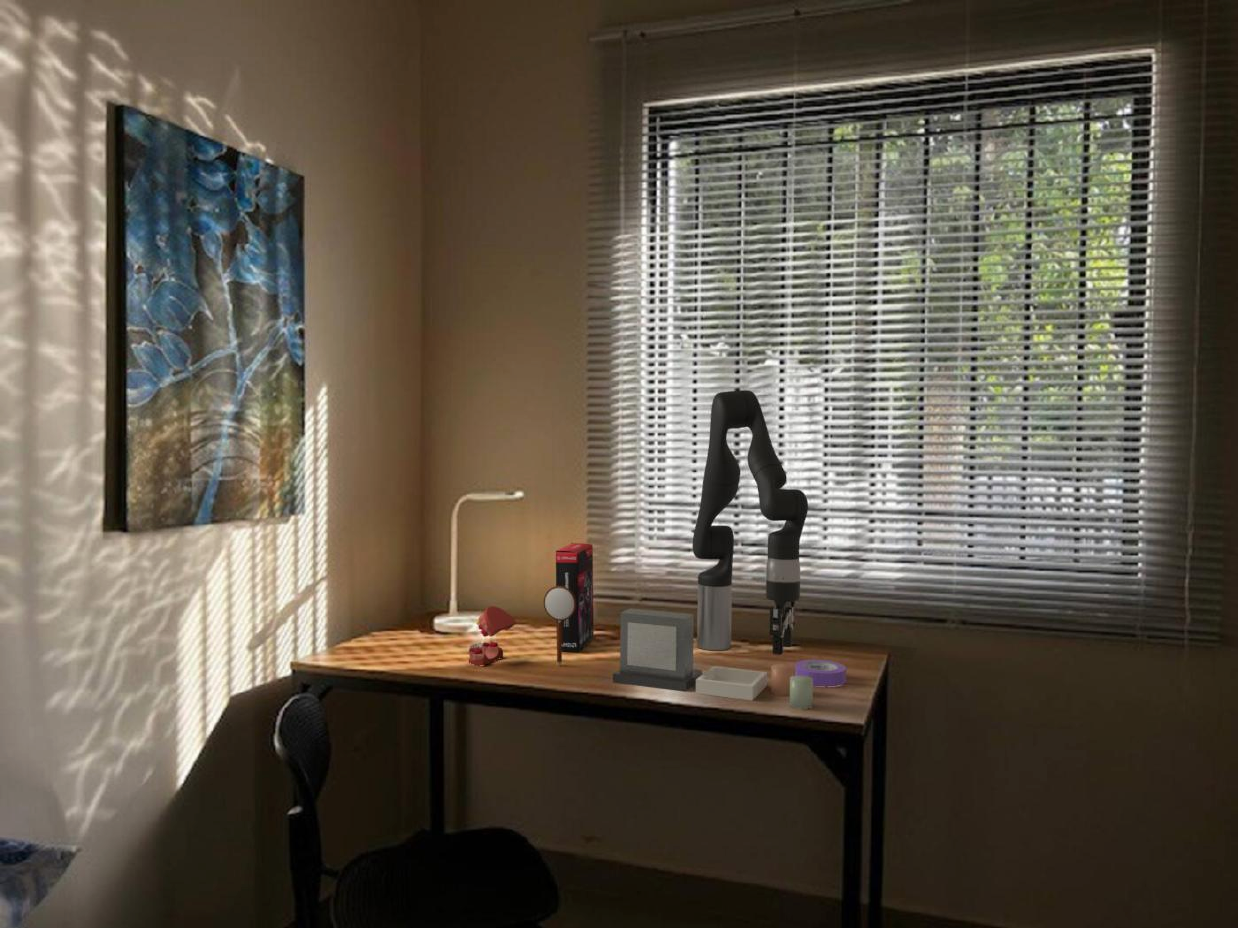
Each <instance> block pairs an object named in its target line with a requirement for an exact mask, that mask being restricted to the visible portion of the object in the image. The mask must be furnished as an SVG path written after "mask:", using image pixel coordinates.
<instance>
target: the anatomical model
mask: <svg viewBox="0 0 1238 928" xmlns="http://www.w3.org/2000/svg"><path fill="white" fill-rule="evenodd" d="M516 623H517V621H516V620H515V619H514V618H513V617H512V616H511V615H510V614H509V613H507V612H506V611H505V610H504V609H502V608H500V607H498V606H493V605H491V606H489V607H487V608H486V609H485V610H484V612H483V614H481V615H479V617H478V618H477V620H476V623H475V624H476V625H477V627H478V629H479V631H480V633H481V634H482V636H483V637H493V636H496V635H497V634H498V633H499V632H501V631H508V630H510V629H511V628H513V627H514V626H515V625H516ZM498 645H499V644H498V642H495V641H490V642H489V641H487V642H486V641H485V642H483V643H481V642H478V643H475V644H470V646H468V650H467V651H468V656H469V658H468V663H469V664H470V663H471V664H470V665H472V664H474V665H473V666H476V665H485V666H487V665H486V664H488V665H490V664H492V663H494V662H493V661H495V660H497V659H499V658H501V659H503V658H504V650H503V648H502V647H501V646H498ZM499 660H500V659H499ZM497 661H498V660H497ZM491 662H492V663H491ZM495 662H496V661H495ZM489 663H490V664H489Z"/></svg>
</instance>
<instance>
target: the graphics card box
mask: <svg viewBox="0 0 1238 928" xmlns="http://www.w3.org/2000/svg"><path fill="white" fill-rule="evenodd" d="M593 547H594V546H593V544H591V543H590V544H589V543H585V542H584V543H582V542H581V543H580V542H571V543H570V544H567V545H565V546H563V547H561V548H558V549H557V550H555V586H564V587H566V588H568V589H569V590H570V591H571V592H572V593H573V594H574V596H575V599H576V609H575V612H574V613H573V615H572V616H571V617H570V618H568V619H566V620H562V621H561V622H562V653H563V652H567V653H569V652H570V653H579V652H580V651H582V650H583V648H584V647H585V646H587V645H588V644H589V643H590V642H591V641H593V639H594V637H595V635H594V634H595V633H594V629H595V628H594V561H593V560H594V559H593V557H594V556H593V555H594V553H593ZM555 621H556V623H557V622H558V620H555Z"/></svg>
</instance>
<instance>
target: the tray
mask: <svg viewBox="0 0 1238 928" xmlns="http://www.w3.org/2000/svg"><path fill="white" fill-rule="evenodd" d="M767 686H768V672H767V671H760V670H759V671H758V670H750V669H741V668H733V667H726V666H725V667H723V666H715V665H713V666H711V667H710V668H709V669H708V670H706V671H705V672H704V673H702V675H701V676H700V677H699V678H697V679H696V684H695V694H697V695H705V696H713V697H722V698H730V699H737V700H745V701H754V700H755V699H756V698H757V696H759V694H761V693H762V691H763V690H765V688H766V687H767ZM753 699H754V700H753Z"/></svg>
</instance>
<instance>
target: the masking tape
mask: <svg viewBox="0 0 1238 928" xmlns="http://www.w3.org/2000/svg"><path fill="white" fill-rule="evenodd" d="M794 671H795V672H794V673H795V675H794V676H808V677H811V678H813V686H825V687H828V686H837V685H841V684H843V683H845V682H846V681H847V667H846V666H845V665H844V664H842V663H839V662H836V661H832V660H824V659H806V660H801V661H797V662H796V663H795V670H794ZM846 683H847V682H846Z"/></svg>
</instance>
